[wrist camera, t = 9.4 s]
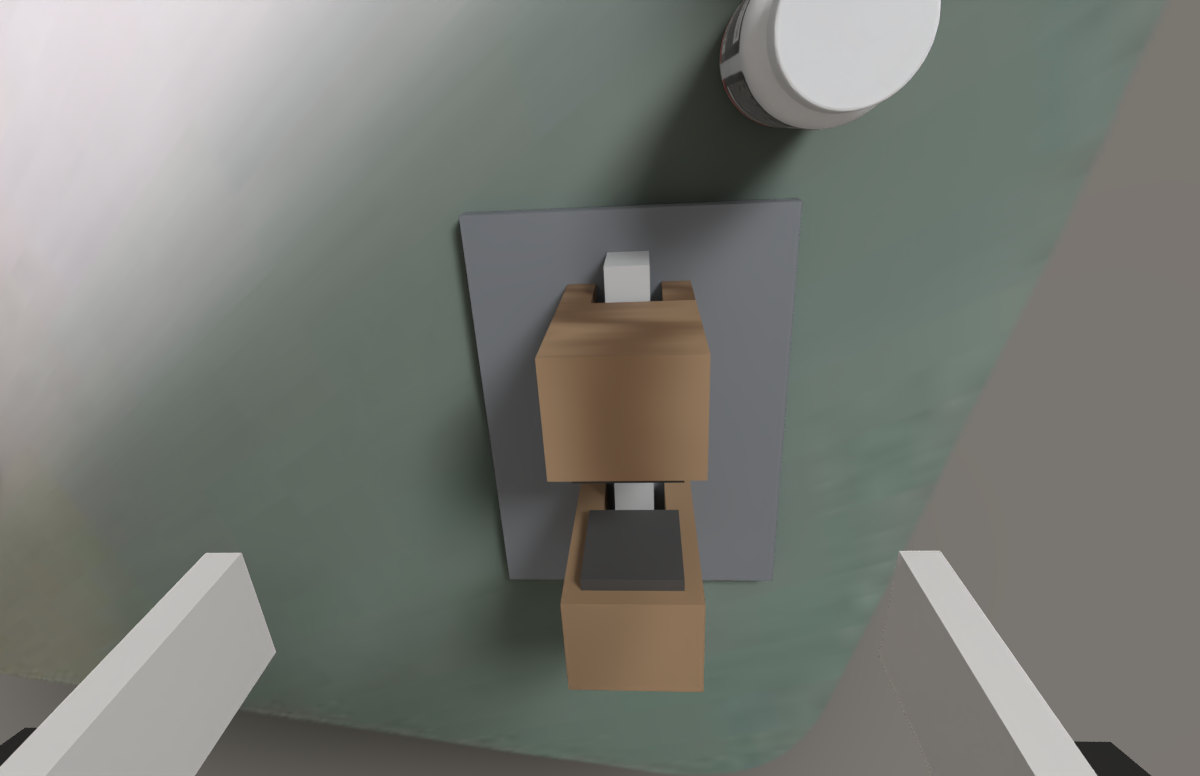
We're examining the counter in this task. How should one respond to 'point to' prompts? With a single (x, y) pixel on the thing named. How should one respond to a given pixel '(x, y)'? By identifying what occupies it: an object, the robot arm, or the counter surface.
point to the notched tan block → (625, 389)
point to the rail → (733, 332)
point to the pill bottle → (822, 57)
